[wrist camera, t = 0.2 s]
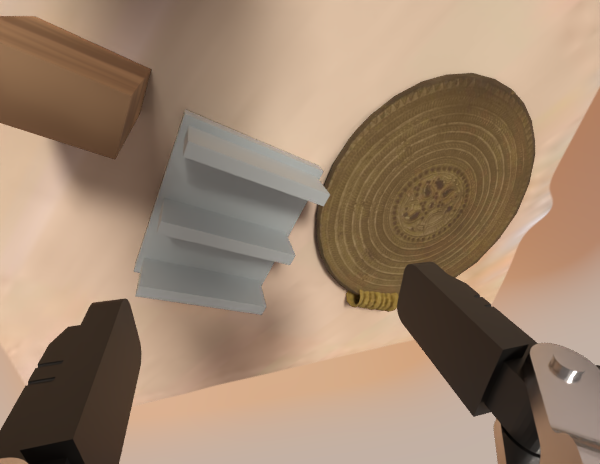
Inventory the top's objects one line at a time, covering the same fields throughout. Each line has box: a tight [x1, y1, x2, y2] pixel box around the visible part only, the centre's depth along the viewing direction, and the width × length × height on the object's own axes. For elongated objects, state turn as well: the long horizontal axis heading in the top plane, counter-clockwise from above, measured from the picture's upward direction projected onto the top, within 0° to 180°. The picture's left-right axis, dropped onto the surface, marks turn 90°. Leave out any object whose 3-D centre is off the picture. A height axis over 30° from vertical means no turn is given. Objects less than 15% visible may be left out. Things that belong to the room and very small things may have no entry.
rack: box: [134, 110, 330, 315], centre depth 30 cm, size 16×13×6 cm
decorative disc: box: [317, 73, 535, 312], centre depth 38 cm, size 29×3×30 cm
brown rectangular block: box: [0, 16, 151, 159], centre depth 19 cm, size 4×7×10 cm, turn 62°
